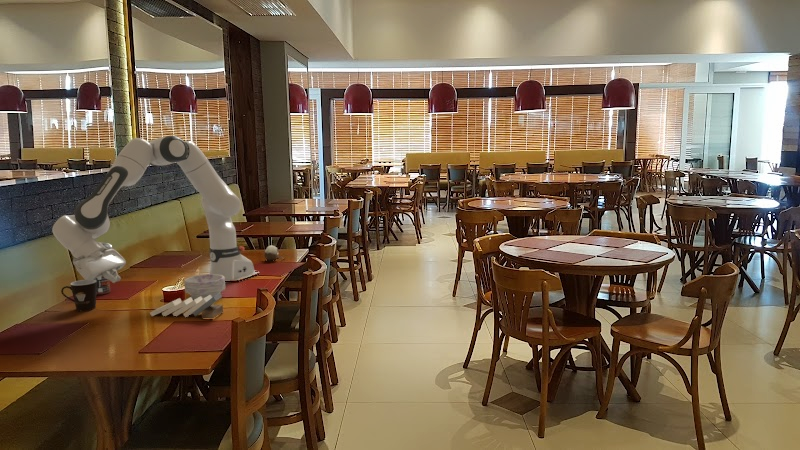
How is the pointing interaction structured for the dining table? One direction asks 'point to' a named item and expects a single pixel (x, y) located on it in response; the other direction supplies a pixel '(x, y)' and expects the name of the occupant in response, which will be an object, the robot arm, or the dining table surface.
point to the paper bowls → (204, 285)
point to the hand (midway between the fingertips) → (117, 280)
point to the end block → (212, 311)
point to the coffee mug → (83, 294)
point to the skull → (272, 253)
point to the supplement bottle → (102, 285)
